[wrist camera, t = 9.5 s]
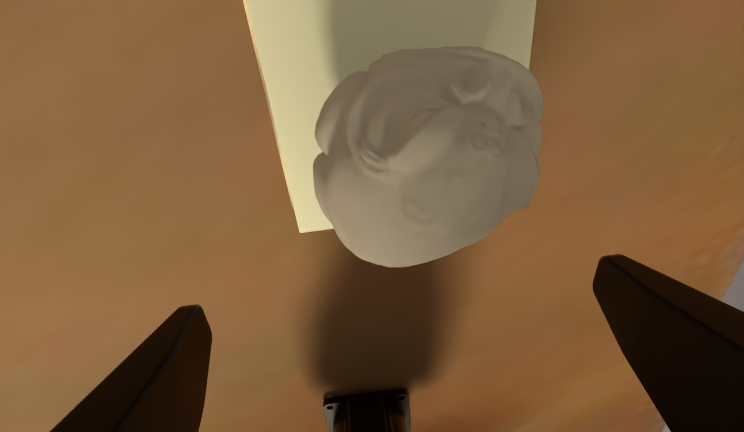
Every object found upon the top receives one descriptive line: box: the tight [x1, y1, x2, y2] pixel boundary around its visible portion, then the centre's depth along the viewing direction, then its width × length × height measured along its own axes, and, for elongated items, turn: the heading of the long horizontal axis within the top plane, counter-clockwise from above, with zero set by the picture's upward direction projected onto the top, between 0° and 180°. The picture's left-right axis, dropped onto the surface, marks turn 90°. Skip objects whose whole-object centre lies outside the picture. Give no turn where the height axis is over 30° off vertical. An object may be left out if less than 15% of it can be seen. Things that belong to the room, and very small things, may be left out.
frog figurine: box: [313, 46, 543, 268], centre depth 12 cm, size 6×7×7 cm
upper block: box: [246, 0, 537, 233], centre depth 16 cm, size 9×9×3 cm
